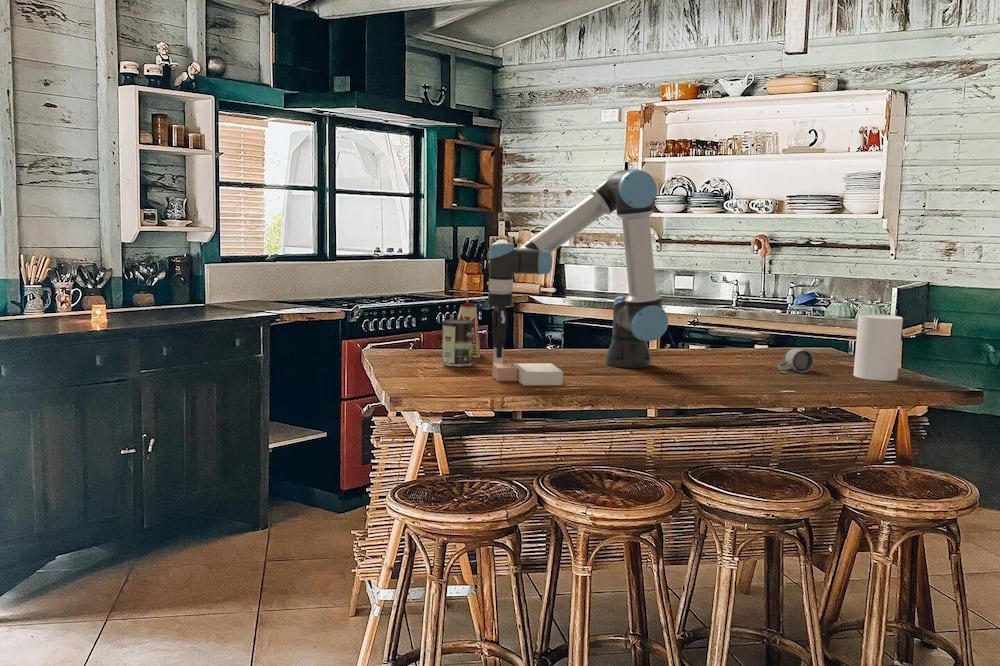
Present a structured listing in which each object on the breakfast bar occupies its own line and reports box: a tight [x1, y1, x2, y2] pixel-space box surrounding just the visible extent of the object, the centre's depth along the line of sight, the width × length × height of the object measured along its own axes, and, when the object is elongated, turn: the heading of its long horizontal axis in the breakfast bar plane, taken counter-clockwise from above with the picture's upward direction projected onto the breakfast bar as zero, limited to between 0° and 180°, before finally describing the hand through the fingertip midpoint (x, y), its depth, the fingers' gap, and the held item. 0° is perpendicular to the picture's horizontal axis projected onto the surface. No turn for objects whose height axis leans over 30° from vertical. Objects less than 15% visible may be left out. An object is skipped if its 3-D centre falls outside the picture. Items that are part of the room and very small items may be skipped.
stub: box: [491, 362, 518, 382], centre depth 298 cm, size 6×8×4 cm
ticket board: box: [512, 362, 564, 386], centre depth 297 cm, size 12×14×4 cm
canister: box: [853, 313, 904, 382], centre depth 322 cm, size 14×14×20 cm
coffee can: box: [441, 318, 474, 367], centre depth 321 cm, size 10×10×14 cm
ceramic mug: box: [777, 348, 815, 374], centre depth 329 cm, size 11×8×8 cm
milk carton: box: [457, 298, 481, 359], centre depth 338 cm, size 9×9×20 cm
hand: (497, 367), depth 308 cm, fingers closed
